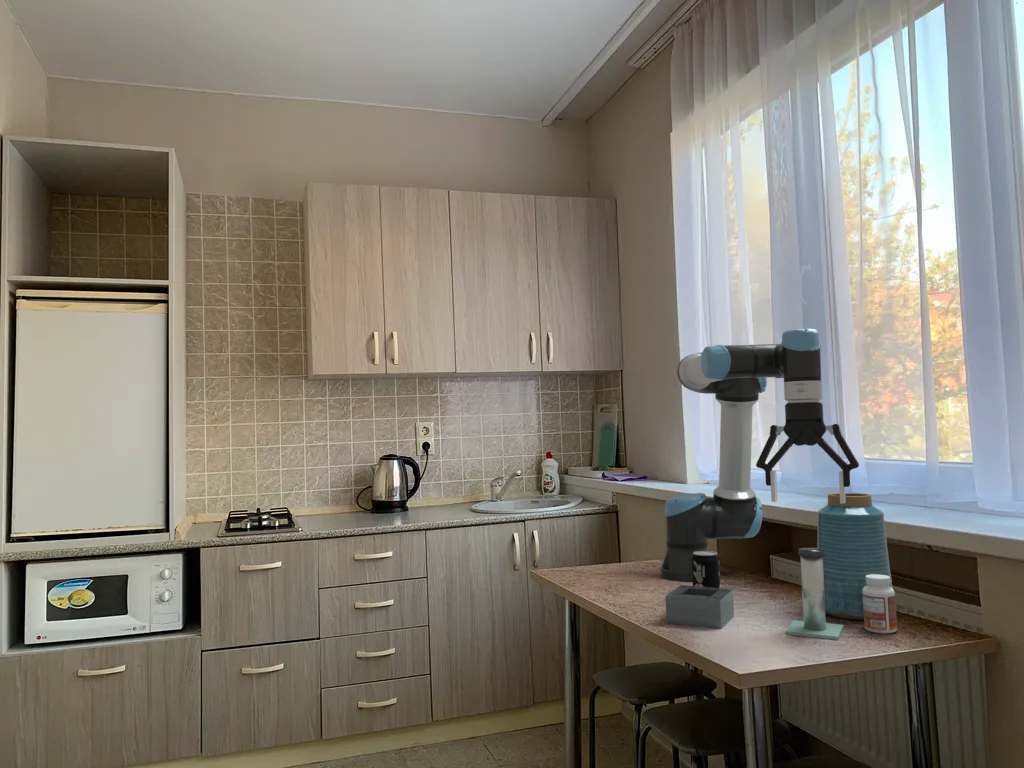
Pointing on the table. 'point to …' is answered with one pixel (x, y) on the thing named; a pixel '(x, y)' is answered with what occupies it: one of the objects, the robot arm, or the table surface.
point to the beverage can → (705, 569)
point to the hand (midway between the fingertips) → (807, 502)
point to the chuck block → (700, 606)
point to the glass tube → (813, 588)
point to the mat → (830, 633)
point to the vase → (851, 551)
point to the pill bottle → (879, 605)
